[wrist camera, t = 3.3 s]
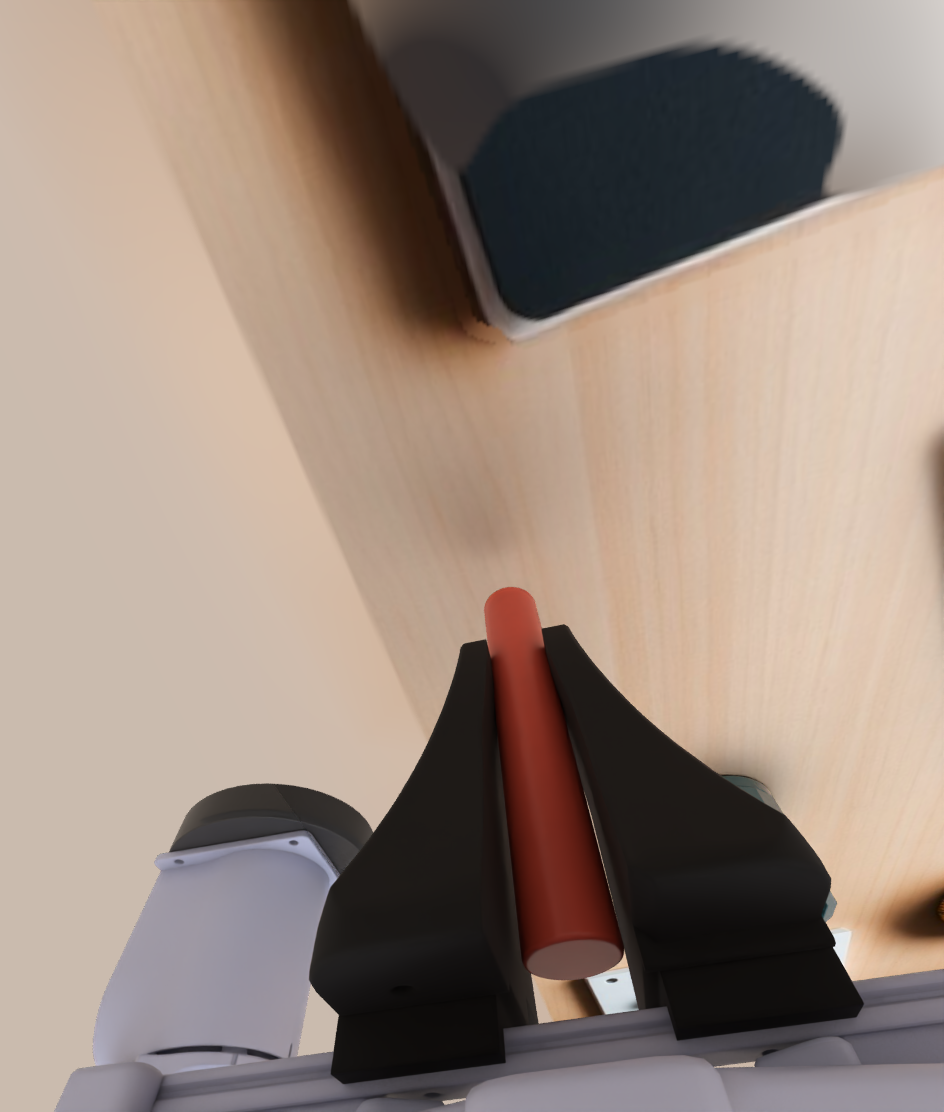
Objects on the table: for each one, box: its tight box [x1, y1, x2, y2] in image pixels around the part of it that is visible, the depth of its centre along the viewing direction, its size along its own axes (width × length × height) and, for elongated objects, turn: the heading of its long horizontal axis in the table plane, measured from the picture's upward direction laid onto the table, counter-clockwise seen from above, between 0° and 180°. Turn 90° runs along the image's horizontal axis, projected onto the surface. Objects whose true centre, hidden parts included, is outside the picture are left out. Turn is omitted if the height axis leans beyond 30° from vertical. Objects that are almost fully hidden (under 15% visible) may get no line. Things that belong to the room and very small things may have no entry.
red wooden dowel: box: [484, 587, 624, 980], centre depth 11 cm, size 2×2×9 cm
